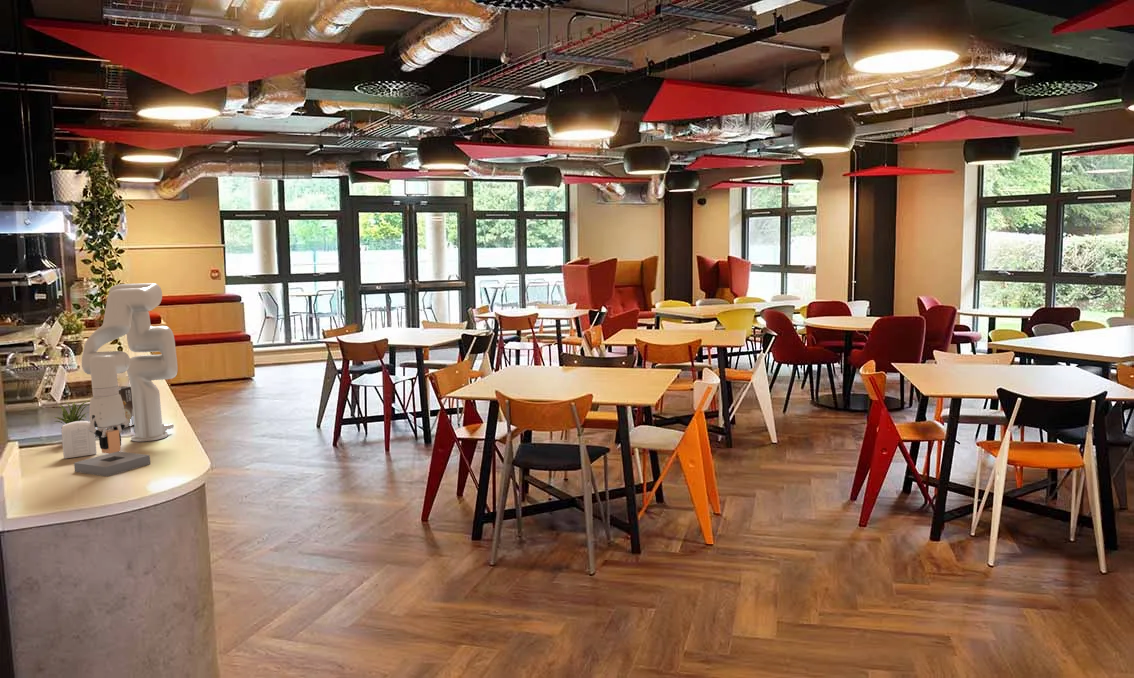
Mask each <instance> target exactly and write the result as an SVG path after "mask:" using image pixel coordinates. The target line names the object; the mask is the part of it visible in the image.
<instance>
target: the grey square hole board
mask: <svg viewBox="0 0 1134 678" xmlns="http://www.w3.org/2000/svg"><path fill="white" fill-rule="evenodd" d="M149 465H151V456H150V454H145V453H143V454H141V453H136V452H135V453H134V452H128V451H127V452H126V451H118V452H114V453H110V454H109V453H105V454H102V455H98V456H95V457H91V458H88V459H83V460H79V461H75V462H74V463H73V467H74V472H75V473H82V474H88V475H95V476H101V477H102V476H103V477H110V476H113V475H117V474H120V473H124V472H127V471H130V470H131V471H132V470H134V469H138V468H141V467H145V466H149Z"/></svg>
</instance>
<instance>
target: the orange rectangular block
mask: <svg viewBox="0 0 1134 678" xmlns="http://www.w3.org/2000/svg"><path fill="white" fill-rule="evenodd" d="M105 437H107V440H108V449H101V453H102V454H110V453H114V452H118V451H120V452H122V451H121V446H120V437H119V430H114V429H106V436H105Z"/></svg>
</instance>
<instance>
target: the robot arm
mask: <svg viewBox="0 0 1134 678" xmlns="http://www.w3.org/2000/svg"><path fill="white" fill-rule="evenodd" d="M106 299H107V300H106V304H105V305H106V306H105V312H104V317H103V323H102V325H101V326H100V327H98V328H97V329H96V330H94V332H93V333H92V334H91V335H90V336H89V337H87V339H86V341H85V343H84V347H83V351H82V357H81V368H82V370H83V372H84V373H86V374H87V375H90V378H91V380H90V381H91V388H92V389H91V391H92V397H90V400H89V411H88V412H89V422H90V426H89V428H88V431H90V432H92V433H94V434H95V436H96V437H98V440H99V441H98V442H99V448H100V450H102V449H108V440H107V437H105V436H106V430H107V429H106V427H111V426H112V428H113V429H114V430H119V437H120V447H121V446H122V433H123V430H124V429H125V428H124V427H125V426H126V425H127V424H128V423H129V421H128V419H127V418H126V417H125V411H124V406H123V401H122V398H121V395H120V394H119V390H121V386H120V385H119V381H118V374H123V373H125V372H126V374H127V377H128V381H129V385H130V386H129V387H131V393H132V404H133V414H134V425H135V426H134V433H135V434H134V435H132V436H131V437H130V440H131V441H132V442H151V441H153V442H154V441H158V440H162V439H165V438H167V437H168V433H169V432H167V430H170V429H174V423H168V424H165V423H163V416H162V407H161V406H162V405H161V395H160V394H161V393H160V389H159V388H158V386H157V385H156V384H155V383H154V382H153V381H163V380H172V379H174V378H176V376H177V374H178V372H179V371H178V367H179V366H178V358H177V349H176V340H175V334H174V332H173V330H172V329H171V328H170V327H169V326H167V325H154V326H153V325H152V324H151V317H150V312H151V311H153V310H154V309H155V308H157V307H158V306H160V304H161V302H162V300H163V291H162V288H161V286H160V285H159V284H158V283H154V282H146V283H121V284H115V285H113V286H111V287H110V288H109V290H108V295H107V298H106ZM123 336H126V340H127V346H128V348H129V351H131V352H133V353H151V352H152V353H156V352H157V353H158V352H159V353H160V354H144V355H135V356H131V357H130V355H129V354H128V353H127V352H125V351H122V350H114V351H113V350H109V351H99V349H100V348H101V347H102V346H104V345H106V344H108V343H110V342H113V341H115V340H117V339H119V338H121V337H123ZM96 428H97V429H96Z"/></svg>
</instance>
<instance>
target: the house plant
mask: <svg viewBox="0 0 1134 678" xmlns="http://www.w3.org/2000/svg"><path fill="white" fill-rule="evenodd" d="M87 402H89V400H86V401H84V402H82V403H80V405H78V403H75V401H72V406H71V405H70V404H69V402H68V401H65V403H66V404H67V406H68V409H69V412H68V410H67V409H66V407H65V406H62V404H61V405H60V404H58V406H59V407H60V409H61V411H62V413H61V416H62V417H60V416H59V417H58V416H54V418H55V419H58V420H55V421H53V422H54V423H55V422H56V423H61V424H63V423H65V424H68V423H71V422H75V421H85V419H87V416H86V414H88V413H89V411H88V412H85V413H83V414H81V413H82V412H83V411H84V410H85V408H87V406H89V407H90V404H88V403H87ZM51 409H53V410H54V408H51ZM83 418H84V419H83ZM61 430H62V427H61Z"/></svg>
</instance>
